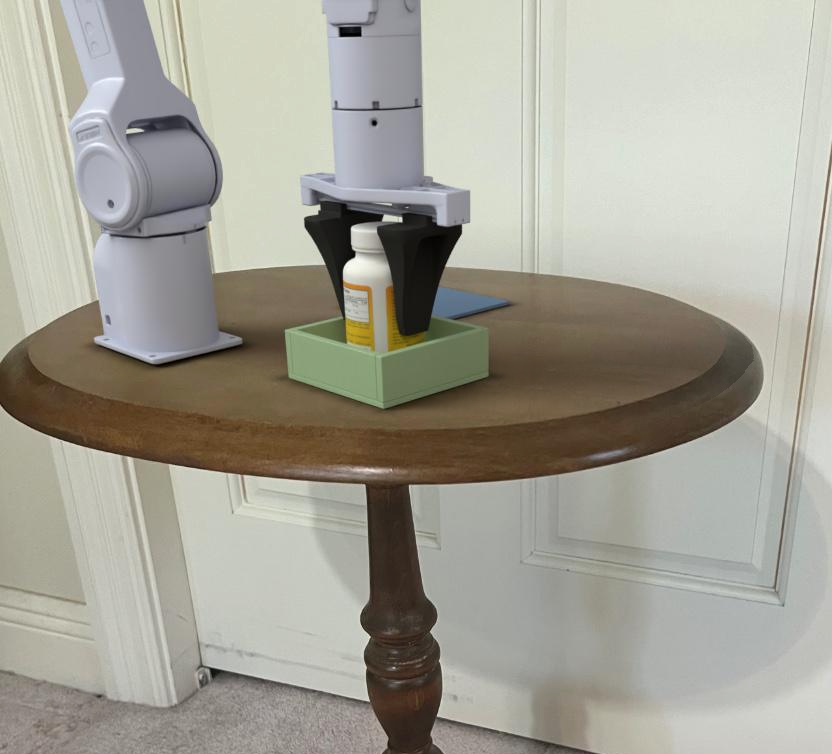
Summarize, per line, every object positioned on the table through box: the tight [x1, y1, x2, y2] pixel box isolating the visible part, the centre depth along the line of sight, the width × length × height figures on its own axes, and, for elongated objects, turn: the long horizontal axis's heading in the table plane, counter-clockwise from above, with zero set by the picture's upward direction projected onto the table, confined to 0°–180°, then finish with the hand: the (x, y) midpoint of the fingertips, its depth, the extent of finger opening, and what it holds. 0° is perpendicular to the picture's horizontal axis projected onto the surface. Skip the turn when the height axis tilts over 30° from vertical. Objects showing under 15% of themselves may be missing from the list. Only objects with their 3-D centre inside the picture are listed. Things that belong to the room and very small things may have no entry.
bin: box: [284, 315, 490, 410], centre depth 75 cm, size 10×10×3 cm
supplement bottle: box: [343, 220, 425, 354], centre depth 73 cm, size 5×5×10 cm
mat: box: [432, 286, 510, 320], centre depth 94 cm, size 10×10×1 cm
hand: (385, 325), depth 74 cm, fingers closed on supplement bottle, 5 cm apart
